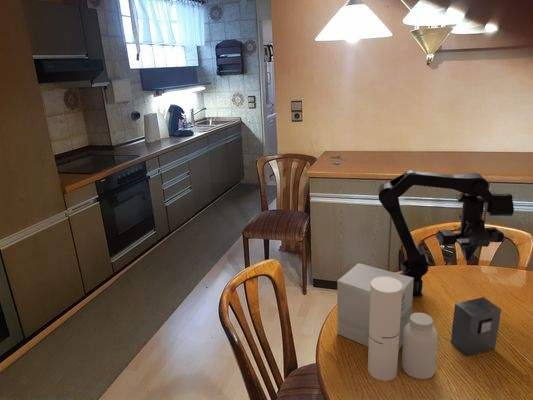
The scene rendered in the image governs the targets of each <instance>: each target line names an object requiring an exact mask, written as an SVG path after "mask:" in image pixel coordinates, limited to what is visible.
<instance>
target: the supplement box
mask: <svg viewBox="0 0 533 400" xmlns="http://www.w3.org/2000/svg"><path fill="white" fill-rule="evenodd" d="M377 277H391V278H394V279H397V280H399V281H400V282H401V283H402V301H401V317H400V333H399V349H398V351H399V350H400V349H401V348H402V347H403V330H404V327H405V325H406V324H407V323H409V322H410V316H411V315H412V314H413V313H412V311H413V297H414V296H413V281H414V278H413V277H408V276H404V275H401V274H400V273H397V272H393V271H389V270H387V269H386V270H385V269H381V268H377V267H374V266H371V265H368V264H367V265H366V264H365V263H364V264H363V263H359V262H357V264H355V265H354V266H353V267H352V268H351V269H350V270H348V271H347V272H346V273H344V275H343V276H341V277H340V278H339V279H337V282H336V283H337V287H336V289H337V293H336V294H337V296H336V297H337V301H336V302H337V303H336V306H337V308H336V309H337V310H336V311H337V312H336V314H337V315H336V317H337V319H336V320H337V321H336V322H337V324H336V327H337V328H336V331H337V332H336V335H339V336H342V337H345V338H346V339H348V340H351V341H354V342H356V343H358V344H361V345H362V346H364V347H367V348H369V320H370V290H371V281H372V280H373V279H374V278H377Z"/></svg>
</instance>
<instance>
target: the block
mask: <svg viewBox="0 0 533 400" xmlns="http://www.w3.org/2000/svg"><path fill="white" fill-rule="evenodd" d="M453 310H454V311H453V318H452V326H451V335H450V336H451V337H450V343H451V344H452V345H453V346H454V348H456V349H457V350H458V351H459V352H460V353H462V354H463V356H465V357H467V358H468V357H470V356H475V355H478V354H482V353H486V352H491V351H493V350H494V351H495V350H496V346H497V339H498V333H499V326H500V319H501V313H502V308H500V307H499V306H497V305H495V303H493V302H491V301H490V300H489V299H487V298H486V297H484V296H481V297H478V298H473V299H470V300H469V299H468V300H465V301H464V300H463V301H460V302H456V303H454V309H453ZM485 319H489V320H490V321H492V322H491V328H490V331H487V332H483V333H481V332H479V331H478V325H479V321H481V320H485Z"/></svg>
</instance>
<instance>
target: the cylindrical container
mask: <svg viewBox="0 0 533 400" xmlns="http://www.w3.org/2000/svg"><path fill="white" fill-rule="evenodd" d="M401 301H402V283H401V282H400V281H399V280H397V279H394V278H391V277H377V278H374V279H373V280H372V281H371V290H370V320H369V347H368V349H367V350H368V354H367V356H368V358H367V359H368V360H367V370H368V373H369V375H370V376H371V377H372V378H374V379H376V380H379V381H385V382H387V381H392V380H394V379H395V378H396V376H397V375H398V362H399V350H400V349H399V333H400V317H401ZM398 349H399V350H398Z"/></svg>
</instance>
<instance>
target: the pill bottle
mask: <svg viewBox="0 0 533 400" xmlns="http://www.w3.org/2000/svg"><path fill="white" fill-rule="evenodd" d="M438 339H439V334H438V331H437V329H436V328H435V327H434V319H433V318H432V316H430V315H429V314H427V313H424V312H414V313H412V315H411V316H410V322H409V323H407V324H406V325H405V327H404V330H403V345H402V351H401V352H402V353H401V355H402V356H401V367H402V370H403V371H404V372H405V373H406V374H407V375H408V376H410V377H411V378H414V379H418V380H427V379H430V378H432V377H433V376H434V375H435V373H436V363H437V361H436V360H437V351H438Z"/></svg>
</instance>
